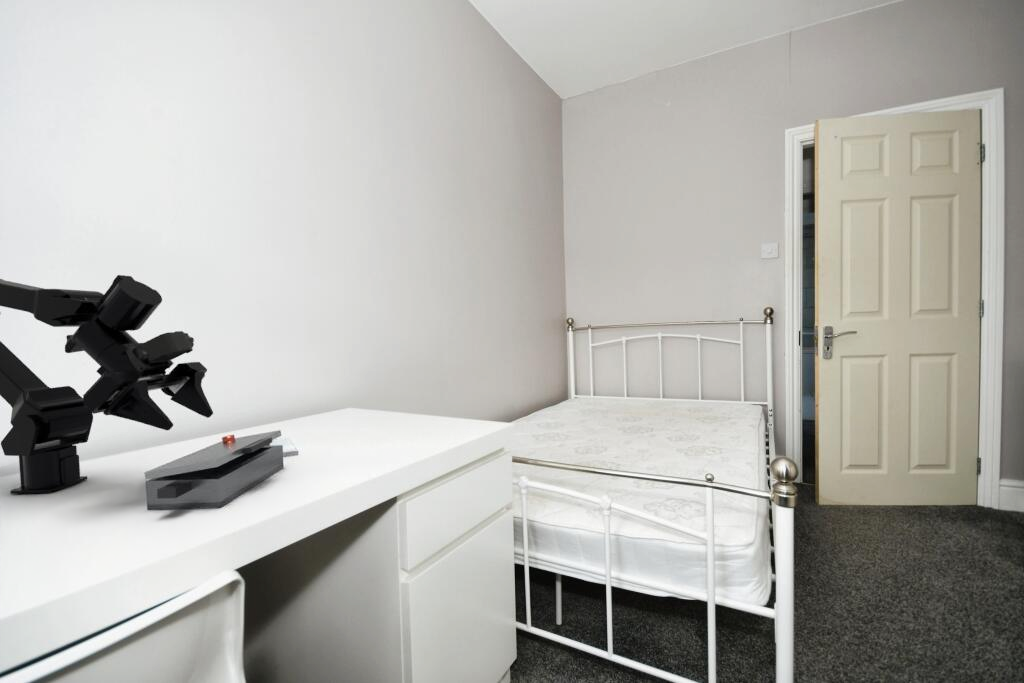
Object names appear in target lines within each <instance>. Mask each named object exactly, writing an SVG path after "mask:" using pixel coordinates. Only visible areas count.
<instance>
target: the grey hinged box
mask: <svg viewBox="0 0 1024 683" xmlns="http://www.w3.org/2000/svg"><path fill="white" fill-rule="evenodd" d="M282 469H284V457H283V445H273V446H270V444H268V445H266V446H264V447H262V448H260V449H258V450H256V451H254V452H251V453H245V454H243V455H241V456H239V457H237V458H235V459H233V460H231V461H228V462H226V463H224V464H222V465H220V466H218V467H214V468H208V469H203V470H197V471H192V472H186V473H180V474H175V475H169V476H164V477H158V478H152V479H147V480H145V493H146V496H145V497H146V510H147V511H151V510H152V511H154V510H155V511H156V510H157V511H158V510H161V511H162V510H191V509H192V510H193V509H194V510H195V509H196V510H197V509H222V507H224V506H225V505H227V504H229V503H230V502H232V501H233V500H235V499H236V498H238V497H240V496H241V495H244V494H245V493H246V492H248V491H249V490H251V489H253V488H254V487H256V486H257V485H259V484H260V483H262V482H263V481H265V480H266V479H268V478H269V477H271V476H273V475H274V474H276V473H278V472H279V471H281V470H282Z"/></svg>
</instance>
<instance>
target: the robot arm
mask: <svg viewBox="0 0 1024 683" xmlns="http://www.w3.org/2000/svg"><path fill="white" fill-rule="evenodd" d="M162 302H163V298H162V295H161V294H160V292H158V291H157V289H153V288H151V287H150V286H148V285H146V284H145V283H143V282H141V281H139V280H138V281H137V280H135V278H133V277H132V276H131V275H122V274H117V276H115V278H114V279H113V281H112V283H111V285H110V286H109V288H108V289H107V290H106V291H105V293H102V292H100V291H95V290H81V289H80V290H79V289H78V290H77V289H66V288H65V289H64V288H63V289H62V288H43V287H38V286H34V285H29V284H25V283H24V284H23V283H19V282H14V281H9V280H4V279H2V278H0V307H4V308H8V309H14V310H17V311H18V310H19V311H22V312H27V313H30V314H32V315H33V317H34V319H36V320H37V321H39V322H42V323H44V324H46V325H49V326H50V327H53V328H61V327H62V328H67V327H69V328H71V327H72V328H75V327H77V329H76V330H75V332H74V333H73V334H67V335H66V336H65V337H66V343H65V345H64V352H65V353H66V354H72V353H79V352H85V353H86V354H87V355H88V356H89V357H90V358H92V360H93V361H95V362H96V363H97V364H98V365H99V368H98V369H97V370H96V372H97V373H98V374H99V376H100V377H99V378H98V379H97V380H96V381H95V382H94V383H93V384H92V385H91V386H90V387H89V389H88V390H87V391H86V392H85V393H84V394H83V395H82V396H81V395H80V394H79V393H78V392H77V391H76V389H75V388H74V387H71V386H70V385H67V386H66V385H65V386H58V387H50V386H48V385H47V384H46V383H45V382H43V380H42V379H41V378H40V377H39V376H37V374H35V372H33V370H31V369H30V368H29V367H28V366H27V365H26V364H25V363H24V361H22V360H21V359H20V358H19V357H18V356H17V355H15V354H14V352H13V351H11V349H9V347H7V346H6V345H5V343H3V342H2V341H1V340H0V396H1V397H2V399H3V400H5V402H6V403H7V404H8V405H9V406H10V407H11V408H12V410H11V414H10V415H11V416H10V417H11V418H10V425H12V427H11V429H10V430H9V431H8V433H7V434H6V435H5V436H4V438H3V439H2V440H1V441H0V446H1V449H2V452H3V455H4V456H7V457H9V456H10V457H11V456H12V457H18V462H19V479H20V487H16V488H13V489H11V490H10V491H9V492H10V494H38V493H39V494H40V493H41V494H42V493H43V494H45V493H52V492H56V491H59V490H61V489H64V488H68V487H69V486H72V485H75V484H78V483H81V482H83V481H86V480H87V479H88V476H86V475H85V476H83V475H81V467H80V455H79V454H78V450H77V445H79V444H84V443H87V442H88V441H89V436H90V432H91V429H92V425H93V422H94V415H95V414H99V413H102V414H103V415H105V416H113V417H118V418H122V419H126V420H129V421H130V420H131V421H134V422H138V423H141V424H144V425H148V426H150V427H154V428H158V429H161V430H164V431H170V430H171V429H172V428H173V427H174V423H173V421H171V418H169V417H168V415H167V414H166V413H165V412H164V411H163V409H161V407H159V406H158V404H157V403H156V402H155V401H154V400H153V398H151V396H150V394H149V392H151V391H155V390H160V391H161V392H162V393H164V394H165V395H167V396H169V397H170V401H172V402H175V403H176V404H178V405H180V406H182V407H184V408H186V409H188V410H191V411H192V412H195V413H197V414H198V415H201V416H203V417H204V418H207V419H208V418H211V416H212V415H213V414H214V412H213V411H214V410H213V409H212V407H211V405H210V403H209V401H208V399H207V397H206V394H205V392H204V390H203V387H202V383H203V382H202V381H203V379H204V378H205V377H206V373H207V371H208V368H206V367H205V366H204V365H203V364H202V363H201V361H191V362H183V363H177V365H176V366H174V368H173V369H171V371H170V372H168V374H166V373H167V371H166V370H168V369H170V368H171V367H172V366H173V365H174V362H173V361H172V360H175V359H176V358H178V357H180V356H182V355H184V354H189V353H191V352H193V351H194V349H193V347H194V344H195V343H194V342H195V339H194V337H192V336H190V335H189V333H187V332H184V331H182V330H180V331H174V332H171V331H170V332H165V333H161V334H159V335H156V336H155V337H153V338H151V339H149V340H147V341H145V342H138V341H137V340H136V339H135V338H134V337H133V336H131V334H129V332H130V331H137V330H140V329H141V328H142V327H143V326H144V325H145V324H146V322H147V321H148V319H150V317H151V316H152V314H153V313H154V312H155V311H156V310H157V308H158V307H159V306H160V305H161V303H162ZM0 315H1V312H0ZM128 331H129V332H128Z"/></svg>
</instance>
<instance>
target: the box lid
mask: <svg viewBox="0 0 1024 683" xmlns="http://www.w3.org/2000/svg"><path fill="white" fill-rule="evenodd" d="M281 431H282V430H281V429H278V430H273V431H269V432H263V433H257V434H252V435H245V436H240V437H235V434H229V435H224V436H222V437H221V441H219V442H217V443H214V444H211V445H209V446H207V447H204V448H201V449H199V450H197V451H194V452H192V453H191V452H190V453H189V454H186V455H184V456H181V457H178V458H177V459H174V460H172V461H170V462H167V463H164V464H162V465H160V466H159V465H158V466H157V467H154V468H152V469H150V470H147V471H145V472H143V474H144V478H145V481H147V480H149V479H152V478H158V477H164V476H169V475H175V474H180V473H186V472H192V471H197V470H203V469H208V468H214V467H218V466H220V465H222V464H224V463H226V462H228V461H231V460H233V459H235V458H237V457H239V456H241V455H243V454H245V453H251V452H254V451H256V450H258V449H260V448H262V447H264V446H266V445H268V444H270V443H272V440H276V439H277V438H278V439H279V438H280V437H282V432H281Z"/></svg>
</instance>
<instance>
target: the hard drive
mask: <svg viewBox="0 0 1024 683" xmlns="http://www.w3.org/2000/svg"><path fill="white" fill-rule="evenodd" d="M273 445H283V458H287V457H294V456H299V450H298V449H297V447H296V446H295V444H294V443H293V441H292V440H291V438H290V437H284V438H278V439H277V438H276V439H274V440H272V443H270V446H273Z"/></svg>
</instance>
